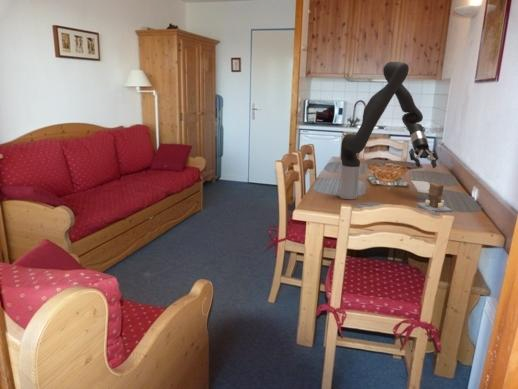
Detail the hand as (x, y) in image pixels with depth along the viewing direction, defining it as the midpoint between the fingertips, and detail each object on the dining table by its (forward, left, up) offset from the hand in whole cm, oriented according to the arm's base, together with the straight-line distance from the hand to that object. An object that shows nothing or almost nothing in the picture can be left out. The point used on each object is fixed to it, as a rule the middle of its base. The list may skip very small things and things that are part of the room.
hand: (426, 166), depth 206 cm
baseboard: (+18, +30, -19) cm, 40 cm away
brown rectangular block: (0, -11, -18) cm, 21 cm away
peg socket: (0, -12, -19) cm, 22 cm away
